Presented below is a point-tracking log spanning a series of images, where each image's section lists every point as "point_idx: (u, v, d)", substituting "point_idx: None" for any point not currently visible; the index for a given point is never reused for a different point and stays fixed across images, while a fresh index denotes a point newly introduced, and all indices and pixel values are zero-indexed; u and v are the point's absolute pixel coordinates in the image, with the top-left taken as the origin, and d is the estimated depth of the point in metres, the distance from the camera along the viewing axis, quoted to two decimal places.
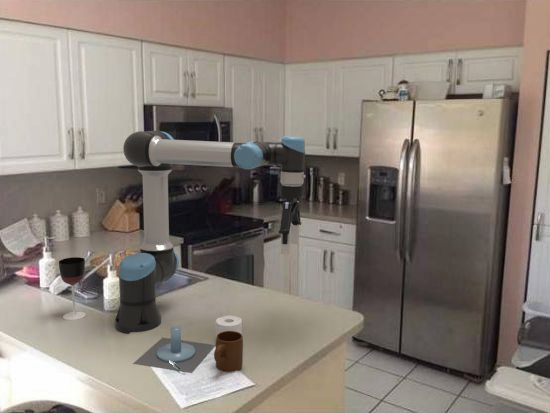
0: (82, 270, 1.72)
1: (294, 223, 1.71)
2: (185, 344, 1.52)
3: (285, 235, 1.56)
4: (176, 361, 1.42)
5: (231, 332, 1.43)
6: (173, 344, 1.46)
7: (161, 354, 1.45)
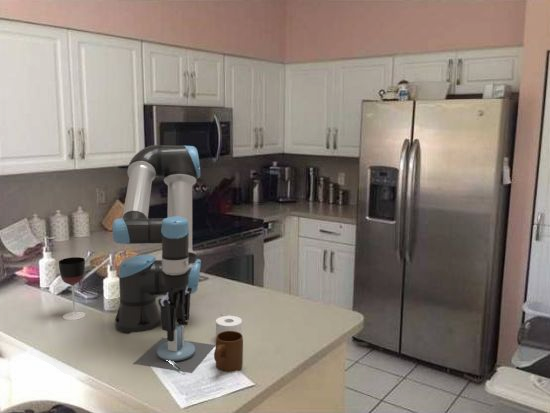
0: (82, 270, 1.72)
1: (179, 322, 1.48)
2: (185, 342, 1.52)
3: (169, 332, 1.43)
4: (176, 359, 1.42)
5: (231, 332, 1.43)
6: None
7: (161, 352, 1.44)
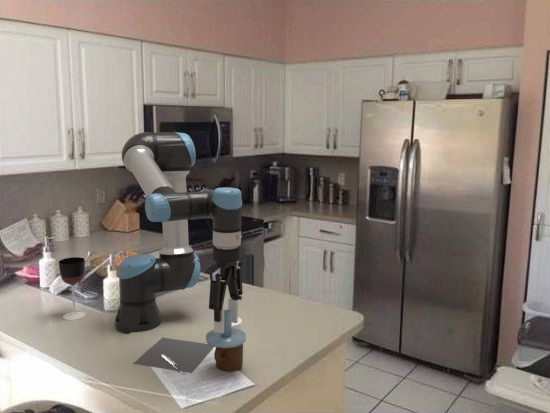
0: (82, 270, 1.72)
1: (233, 297, 1.40)
2: (234, 329, 1.42)
3: (217, 311, 1.31)
4: (228, 346, 1.33)
5: None
6: None
7: (211, 339, 1.35)
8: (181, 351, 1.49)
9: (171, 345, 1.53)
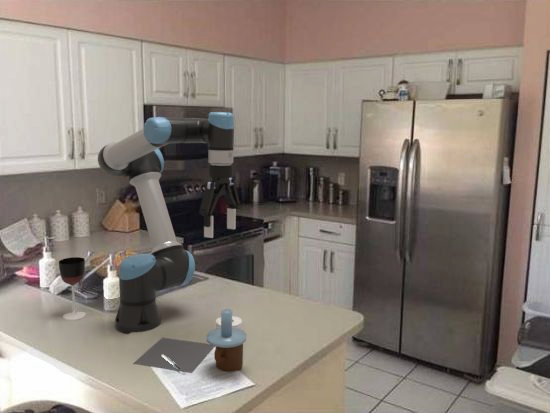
0: (82, 270, 1.72)
1: (231, 207, 1.59)
2: (234, 329, 1.43)
3: (206, 217, 1.45)
4: (229, 346, 1.33)
5: None
6: (223, 328, 1.36)
7: (212, 339, 1.35)
8: (181, 351, 1.49)
9: (171, 345, 1.53)
